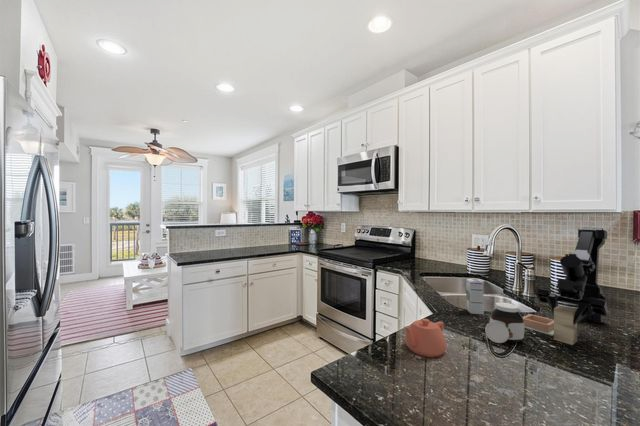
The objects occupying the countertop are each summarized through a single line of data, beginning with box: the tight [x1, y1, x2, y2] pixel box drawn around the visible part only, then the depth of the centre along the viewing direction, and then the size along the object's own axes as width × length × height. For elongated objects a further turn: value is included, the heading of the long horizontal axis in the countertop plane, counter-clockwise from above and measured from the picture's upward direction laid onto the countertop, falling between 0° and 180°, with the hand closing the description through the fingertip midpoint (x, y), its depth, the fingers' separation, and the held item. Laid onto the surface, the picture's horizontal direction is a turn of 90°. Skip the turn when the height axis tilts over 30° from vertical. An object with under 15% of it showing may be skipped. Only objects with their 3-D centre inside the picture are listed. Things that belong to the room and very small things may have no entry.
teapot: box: [403, 318, 448, 358], centre depth 89 cm, size 12×18×10 cm
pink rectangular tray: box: [522, 313, 554, 337], centre depth 110 cm, size 12×12×3 cm
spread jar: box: [484, 302, 525, 344], centre depth 97 cm, size 12×11×12 cm
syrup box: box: [465, 278, 485, 315], centre depth 126 cm, size 6×6×14 cm
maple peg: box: [553, 305, 578, 346], centre depth 97 cm, size 5×5×11 cm
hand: (564, 320), depth 97 cm, fingers closed on maple peg, 5 cm apart
